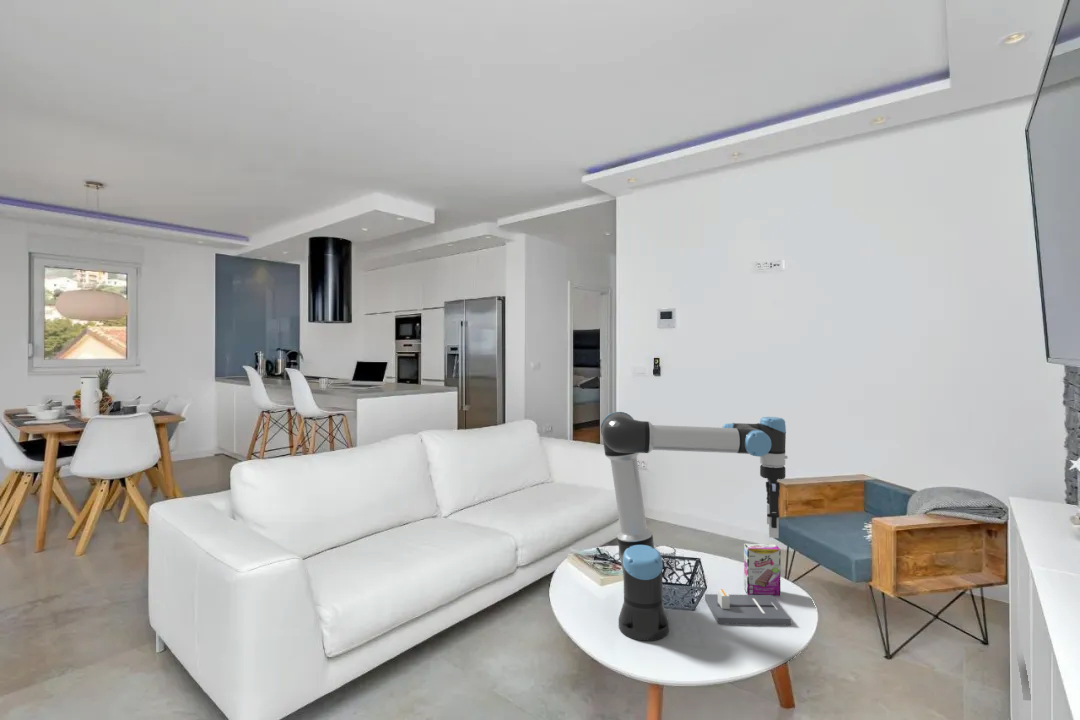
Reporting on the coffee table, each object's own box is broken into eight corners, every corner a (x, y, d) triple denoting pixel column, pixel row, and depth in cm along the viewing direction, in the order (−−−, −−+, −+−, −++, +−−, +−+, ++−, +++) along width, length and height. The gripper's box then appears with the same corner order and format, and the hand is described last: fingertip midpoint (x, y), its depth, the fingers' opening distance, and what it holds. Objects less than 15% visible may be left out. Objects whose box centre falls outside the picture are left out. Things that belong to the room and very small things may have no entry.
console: (717, 624, 163) (717, 617, 163) (705, 600, 179) (704, 593, 179) (791, 625, 162) (791, 618, 162) (771, 600, 178) (771, 594, 178)
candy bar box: (747, 595, 182) (747, 548, 182) (743, 589, 187) (743, 543, 187) (781, 596, 181) (781, 548, 181) (776, 590, 186) (775, 543, 186)
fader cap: (721, 608, 169) (721, 595, 169) (717, 601, 174) (717, 588, 174) (729, 608, 169) (729, 595, 168) (725, 601, 174) (725, 588, 173)
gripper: (788, 474, 158) (788, 545, 159) (782, 458, 182) (782, 520, 182) (761, 472, 161) (761, 541, 161) (758, 457, 184) (758, 518, 185)
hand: (772, 530), depth 172 cm, fingers open, 13 cm apart
